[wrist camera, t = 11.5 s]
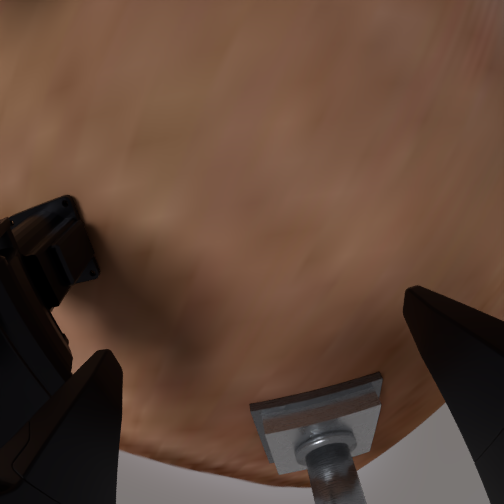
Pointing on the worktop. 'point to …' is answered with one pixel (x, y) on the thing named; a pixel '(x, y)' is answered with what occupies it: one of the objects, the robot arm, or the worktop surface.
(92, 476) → the robot arm
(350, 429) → the metal stand
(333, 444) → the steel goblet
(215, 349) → the worktop surface
